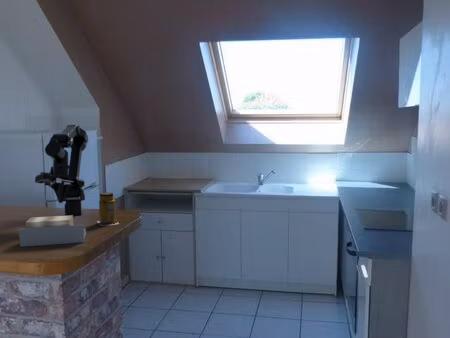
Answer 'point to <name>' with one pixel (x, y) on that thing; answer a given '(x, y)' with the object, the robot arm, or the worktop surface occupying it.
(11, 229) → the worktop surface
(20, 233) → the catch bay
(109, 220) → the condiment
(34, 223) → the wide block
